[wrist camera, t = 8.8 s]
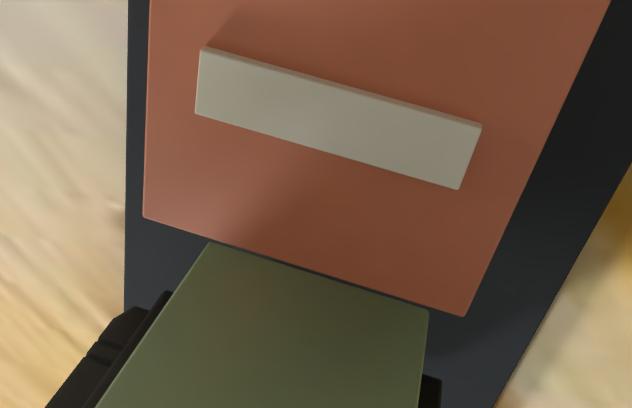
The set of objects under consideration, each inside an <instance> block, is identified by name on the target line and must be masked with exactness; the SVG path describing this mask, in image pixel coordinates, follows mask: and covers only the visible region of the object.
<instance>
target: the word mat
mask: <svg viewBox="0 0 632 408" xmlns="http://www.w3.org/2000/svg"><path fill="white" fill-rule="evenodd" d="M149 10H150V0H128V60H127V131H126V201H125V272H124V312H125V311H127V310H129V309H130V308H132V307H133V306H137V307H140V308H143V309H146V310H149V311H150V310H151V308H152V307H153V305H154V304H155V303H156V301H157V300H158V298H159V297H160V296H161V294H162V293H163V292H164V291H166V290H168V291H171V292H175V290H176V289H177V287H178V286H179V284H180V283H181V282H182V280H183V279H184V277H185V276H186V274H187V273H188V271H189V270H190V268H191V267H192V266H193V264H194V263H195V261H196V260H197V258H198V257H199V255H200V254H201V252H202V251H203V250H204V248H205V247H206V245H207V244H208V243H209V242H214V243H217V244H220V245H223V246H227V247H230V248H233V249H236V250H239V251H242V252H246V253H249V254H252V255H255V256H258V257H261V258H265V259H268V260H271V261H274V262H277V263H281V264H284V265H287V266H290V267H293V268H296V269H300V270H303V271H306V272H309V273H312V274H315V275H319V276H322V277H325V278H328V279H331V280H335V281H338V282H341V283H344V284H347V285H350V286H354V287H357V288H360V289H363V290H366V291H369V292H373V293H376V294H379V295H382V296H385V297H389V298H392V299H395V300H398V301H401V302H404V303H408V304H411V305H414V306H417V307H420V308H423V309H426V310H428V311H429V322H428V330H427V338H426V346H425V354H424V361H423V369H422V374H425V375H428V376H431V377H434V378H437V379H440V380H442V395H441V408H493V406H494V404H495V402H496V400H497V399H498V397H499V395H500V393H501V392H502V390H503V388H504V386H505V385H506V383H507V381H508V379H509V378H510V376H511V374H512V372H513V371H514V369H515V367H516V365H517V363H518V362H519V360H520V358H521V356H522V355H523V353H524V351H525V349H526V348H527V346H528V344H529V342H530V341H531V339H532V337H533V335H534V334H535V332H536V330H537V328H538V326H539V325H540V323H541V321H542V319H543V318H544V316H545V314H546V312H547V311H548V309H549V307H550V305H551V304H552V302H553V300H554V298H555V296H556V295H557V293H558V291H559V289H560V288H561V286H562V284H563V282H564V281H565V279H566V277H567V275H568V274H569V272H570V270H571V268H572V267H573V265H574V263H575V261H576V259H577V258H578V256H579V254H580V252H581V251H582V249H583V247H584V245H585V244H586V242H587V240H588V238H589V237H590V235H591V233H592V231H593V229H594V228H595V226H596V224H597V222H598V221H599V219H600V217H601V215H602V214H603V212H604V210H605V208H606V207H607V205H608V203H609V201H610V200H611V198H612V196H613V194H614V192H615V191H616V189H617V187H618V185H619V184H620V182H621V180H622V178H623V177H624V175H625V173H626V171H627V170H628V168H629V166H630V164H631V162H632V0H611V2H610V4H609V6H608V8H607V10H606V13H605V15H604V17H603V19H602V21H601V23H600V26H599V28H598V30H597V32H596V34H595V36H594V39H593V41H592V43H591V45H590V47H589V49H588V51H587V54H586V56H585V58H584V60H583V62H582V64H581V67H580V69H579V71H578V73H577V75H576V77H575V80H574V82H573V84H572V86H571V88H570V90H569V93H568V95H567V97H566V99H565V101H564V103H563V106H562V108H561V110H560V112H559V114H558V116H557V118H556V121H555V123H554V125H553V127H552V129H551V131H550V134H549V136H548V138H547V140H546V142H545V144H544V147H543V149H542V151H541V153H540V155H539V157H538V160H537V162H536V164H535V166H534V168H533V170H532V172H531V175H530V177H529V179H528V181H527V183H526V185H525V188H524V190H523V192H522V194H521V196H520V198H519V201H518V203H517V205H516V207H515V209H514V211H513V214H512V216H511V218H510V220H509V222H508V224H507V226H506V229H505V231H504V233H503V235H502V237H501V239H500V242H499V244H498V246H497V248H496V250H495V252H494V255H493V257H492V259H491V261H490V263H489V265H488V268H487V270H486V272H485V274H484V276H483V278H482V281H481V283H480V285H479V287H478V289H477V291H476V293H475V296H474V298H473V300H472V302H471V304H470V306H469V309H468V311H467V313H466V315H465V316H464V317H460V316H457V315H453V314H450V313H447V312H444V311H441V310H437V309H434V308H431V307H428V306H425V305H421V304H418V303H415V302H412V301H409V300H405V299H402V298H399V297H396V296H393V295H389V294H386V293H383V292H380V291H377V290H373V289H370V288H367V287H364V286H361V285H357V284H354V283H351V282H348V281H345V280H342V279H338V278H335V277H332V276H329V275H326V274H322V273H319V272H316V271H313V270H310V269H306V268H303V267H300V266H297V265H294V264H290V263H287V262H284V261H281V260H278V259H274V258H271V257H268V256H265V255H262V254H258V253H255V252H252V251H249V250H246V249H242V248H239V247H236V246H233V245H230V244H226V243H223V242H220V241H217V240H214V239H210V238H207V237H204V236H201V235H198V234H194V233H191V232H188V231H185V230H182V229H179V228H175V227H172V226H169V225H166V224H163V223H159V222H156V221H153V220H150V219H147V218H144V217H143V186H144V157H145V127H146V98H147V69H148V39H149Z"/></svg>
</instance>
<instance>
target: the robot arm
mask: <svg viewBox="0 0 632 408" xmlns="http://www.w3.org/2000/svg"><path fill="white" fill-rule="evenodd" d="M173 293H174V292H171V291H168V290H166V291H164V292H163V293H162V294H161V296H160V297H159V298H158V300H157V301H156V303H155V304H154V305H153V307H152V308H151V310H150V311H149V310H146V309H143V308H140V307H137V306H133V307H132V308H130V309H129V310H127V311H125V312H124V313H122V314H121V315H119V316H117V317H116V318H114V319H113V320H112V321H111V322H110V324H109V325H108V326H107V328H106V329H105V330H104V331H103V333H102V334H101V335H100V337H99V339H98V341H97V342H95V343H94V344H93V346H92V347H91V348H90V350H89V351H88V352H87V355H86V357H83V359H82V360H81V361H80V363H79V364H78V365H77V366H76V368H75V369H74V370H73V372H72V373H71V374H70V376H69V377H68V378H67V379H66V381H65V382H64V383H63V385H62V386H61V387H60V388H59V390H58V391H57V392H56V394H55V395H54V396H53V398H52V399H51V400H50V401H49V403H48V404H47V405H46V407H45V408H95V407H96V405H97V404H98V402H99V401H100V399H101V398H102V396H103V395H104V394H105V392H106V391H107V389H108V388H109V386H110V385H111V383H112V382H113V380H114V379H115V378H116V376H117V375H118V373H119V372H120V370H121V369H122V367H123V366H124V364H125V363H126V362H127V360H128V359H129V357H130V356H131V354H132V353H133V351H134V350H135V348H136V347H137V346H138V344H139V343H140V341H141V340H142V338H143V337H144V335H145V334H146V332H147V331H148V330H149V328H150V327H151V325H152V324H153V322H154V321H155V319H156V318H157V316H158V315H159V314H160V312H161V311H162V309H163V308H164V306H165V305H166V303H167V302H168V300H169V299H170V298H171V296H172V295H173ZM441 395H442V380H440V379H437V378H434V377H431V376H428V375H425V374H422V377H421V385H420V393H419V401H418V408H441Z"/></svg>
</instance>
